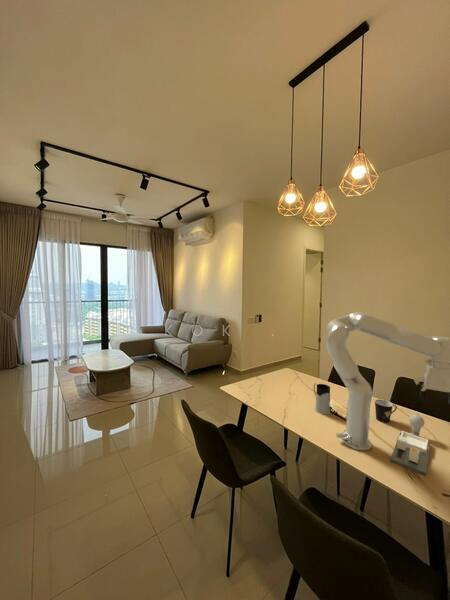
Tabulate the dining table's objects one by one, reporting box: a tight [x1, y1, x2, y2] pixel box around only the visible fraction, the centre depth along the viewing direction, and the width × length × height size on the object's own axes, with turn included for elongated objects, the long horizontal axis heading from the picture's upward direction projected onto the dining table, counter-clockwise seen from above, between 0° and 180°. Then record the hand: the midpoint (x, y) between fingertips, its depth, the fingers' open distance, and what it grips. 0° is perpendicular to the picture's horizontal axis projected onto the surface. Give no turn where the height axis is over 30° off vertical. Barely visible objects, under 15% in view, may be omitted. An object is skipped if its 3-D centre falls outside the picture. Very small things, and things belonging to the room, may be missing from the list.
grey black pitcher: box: [313, 382, 331, 415], centre depth 154 cm, size 9×14×15 cm, turn 12°
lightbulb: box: [408, 413, 425, 437], centre depth 127 cm, size 6×6×11 cm
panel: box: [389, 432, 431, 477], centre depth 114 cm, size 26×12×1 cm, turn 138°
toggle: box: [397, 435, 407, 451], centre depth 116 cm, size 4×3×4 cm
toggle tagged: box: [409, 447, 419, 463], centre depth 108 cm, size 4×3×4 cm
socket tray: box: [400, 430, 429, 453], centre depth 120 cm, size 10×10×2 cm
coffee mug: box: [374, 398, 398, 424], centre depth 141 cm, size 12×9×10 cm
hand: (436, 401), depth 113 cm, fingers open, 9 cm apart
